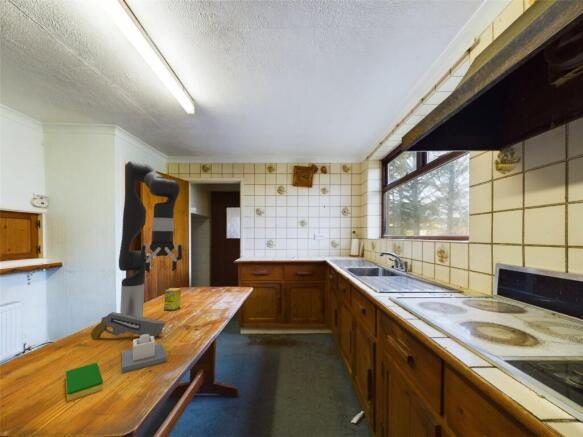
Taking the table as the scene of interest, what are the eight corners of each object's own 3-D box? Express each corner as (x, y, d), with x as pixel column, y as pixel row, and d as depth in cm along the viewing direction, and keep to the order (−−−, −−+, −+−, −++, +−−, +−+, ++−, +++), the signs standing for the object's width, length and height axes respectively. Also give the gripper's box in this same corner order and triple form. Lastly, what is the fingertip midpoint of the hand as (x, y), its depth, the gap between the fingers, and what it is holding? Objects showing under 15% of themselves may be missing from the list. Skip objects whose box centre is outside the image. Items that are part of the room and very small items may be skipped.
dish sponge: (66, 403, 61) (67, 392, 62) (65, 379, 72) (66, 370, 72) (102, 390, 66) (103, 381, 66) (96, 370, 76) (97, 362, 77)
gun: (147, 361, 98) (163, 324, 99) (86, 338, 97) (103, 302, 98) (151, 357, 101) (166, 321, 103) (92, 335, 100) (109, 300, 101)
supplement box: (163, 310, 135) (164, 290, 135) (170, 307, 140) (171, 287, 141) (173, 311, 134) (174, 290, 134) (180, 308, 140) (181, 288, 140)
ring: (132, 353, 83) (133, 339, 84) (153, 348, 87) (153, 335, 87) (132, 360, 78) (133, 346, 79) (154, 355, 82) (155, 342, 82)
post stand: (122, 356, 84) (123, 333, 85) (161, 347, 91) (162, 326, 91) (121, 372, 74) (122, 346, 75) (166, 361, 81) (167, 338, 81)
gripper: (181, 230, 104) (179, 269, 103) (141, 229, 96) (139, 271, 96) (184, 230, 98) (182, 271, 97) (142, 229, 90) (139, 274, 89)
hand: (161, 271), depth 96 cm, fingers open, 8 cm apart
